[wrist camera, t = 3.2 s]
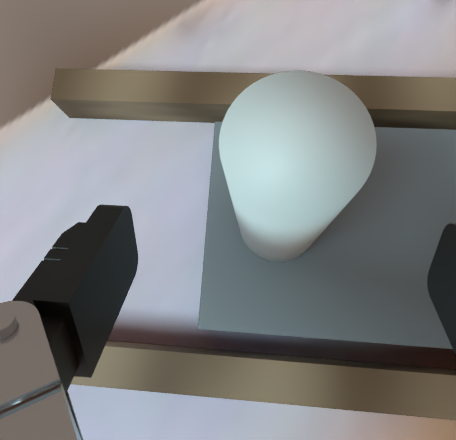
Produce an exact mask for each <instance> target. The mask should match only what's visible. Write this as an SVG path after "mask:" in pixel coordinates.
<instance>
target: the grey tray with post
mask: <svg viewBox="0 0 456 440" xmlns="http://www.w3.org/2000/svg"><path fill="white" fill-rule="evenodd" d="M449 223H454V224H456V130H447V129H417V128H388V127H374V124H373V121H372V119H371V116H370V114H369V112H368V110H367V108H366V107H365V105H364V104H363V103H362V101H361V100H360V99H359V98H358V97H357V95H356V94H355V93H354V92H353V91H351V90H350V89H349V88H348V87H347V86H345V85H344V84H342V83H340V82H339V81H337V80H335V79H333V78H331V77H329V76H326V75H322V74H319V73H315V72H310V71H286V72H280V73H276V74H272V75H269V76H267V77H264V78H262V79H260V80H258V81H256V82H255V83H253V84H252V85H250V86H249V87H247V88H246V89H245V90H244V91H243V92H242V93H241V94H240V95H238V97H237V98H236V99H235V100H234V101H233V103H232V104H231V106H230V107H229V109H228V111H227V112H226V115H225V117H224V119H223V122H215V127H214V140H213V152H212V164H211V176H210V188H209V200H208V212H207V224H206V237H205V249H204V261H203V273H202V285H201V297H200V309H199V322H198V329H204V330H217V331H230V332H242V333H255V334H268V335H280V336H293V337H306V338H318V339H331V340H344V341H356V342H369V343H382V344H394V345H407V346H420V347H432V348H445V349H453V348H452V346H451V344H450V341H449V339H448V337H447V334H446V332H445V330H444V328H443V325H442V323H441V321H440V319H439V316H438V314H437V312H436V309H435V307H434V305H433V303H432V300H431V298H430V296H429V292H428V286H427V278H428V272H429V269H430V266H431V263H432V260H433V257H434V254H435V252H436V249H437V246H438V243H439V240H440V237H441V235H442V232H443V229H444V228H445V226H446V225H447V224H449Z"/></svg>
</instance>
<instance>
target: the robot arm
mask: <svg viewBox="0 0 456 440" xmlns="http://www.w3.org/2000/svg"><path fill="white" fill-rule="evenodd" d="M137 265H138V251H137V245H136V239H135V232H134V226H133V220H132V214H131V210H130V208H129V207H128V206H116V205H99V206H97V208H96V209H95V210H94V212H93V213H92V215H91V216H90V218H89V219H88V221H87V222H86V223H82V222H78V223H77V224H75V225H74V226H72V227H71V228H69V229H68V230H67V231H65V232H64V233H62V234H61V236H60V237H59V238H58V240H57V241H56V243H55V244H54V245H53V247H52V249H50V251H49V252H48V253H47V255H46V256H45V257H44V261H41V263H40V264H39V265H38V267H37V268H36V269H35V271H34V272H33V273H32V275H31V276H30V277H29V279H28V280H27V281H26V283H25V284H24V285H23V287H22V288H21V289H20V291H19V292H18V293H17V295H16V296H15V298H14V299H13V300H12V301H8V302H3V303H0V440H83V437H82V434H81V431H80V428H79V425H78V422H77V418H76V415H75V412H74V409H73V406H72V403H71V400H70V397H69V394H68V391H67V390H68V388H69V386H70V384H71V382H72V379H73V377H74V376H76V377H88V378H91V377H92V375H93V373H94V370H95V368H96V366H97V363H98V361H99V359H100V356H101V354H102V352H103V349H104V347H105V345H106V342H107V340H108V338H109V335H110V333H111V331H112V328H113V326H114V324H115V321H116V319H117V317H118V314H119V312H120V310H121V307H122V305H123V303H124V300H125V298H126V296H127V293H128V291H129V289H130V286H131V284H132V282H133V279H134V277H135V274H136V271H137ZM427 286H428V292H429V296H430V298H431V300H432V303H433V305H434V307H435V309H436V312H437V314H438V316H439V319H440V321H441V323H442V325H443V328H444V330H445V332H446V334H447V337H448V339H449V341H450V344H451V346H452V348H453V350H454V353H455V355H456V224H454V223H449V224H447V225H446V226H445V228H444V229H443V232H442V235H441V237H440V240H439V243H438V246H437V249H436V252H435V254H434V257H433V260H432V263H431V266H430V269H429V272H428V278H427Z"/></svg>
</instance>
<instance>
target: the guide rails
mask: <svg viewBox="0 0 456 440" xmlns="http://www.w3.org/2000/svg"><path fill="white" fill-rule="evenodd" d="M269 75H272V74H265V73H222V72H179V71H136V70H92V69H56V70H55V76H54V82H53V88H52V94H51V100H52V101H53V102H54V103H55V104H56V105H57V106H58V107H59V108H60V109H61V110H62V111H63V112H64V113H65V114H66V115H67V116H68V117H69V118H93V119H122V120H152V121H181V122H210V123H215V122H223V119H224V117H225V115H226V112H227V111H228V109H229V107H230V106H231V104H232V103H233V101H234V100H235V99H236V98H237V97H238V95H240V94H241V93H242V92H243V91H244V90H245V89H246V88H247V87H249V86H250V85H252V84H253V83H255V82H256V81H258V80H260V79H262V78H264V77H267V76H269ZM326 76H329V77H331V78H333V79H335V80H337V81H339V82H340V83H342V84H344V85H345V86H347V87H348V88H349V89H350V90H351V91H353V92H354V93H355V94H356V95H357V97H358V98H359V99H360V100H361V101H362V103H363V104H364V105H365V107H366V108H367V110H368V112H369V114H370V116H371V119H372V121H373V124H374V127H388V128H417V129H447V130H456V78H438V77H395V76H352V75H326ZM71 384H75V385H86V386H97V387H108V388H118V389H129V390H140V391H150V392H161V393H172V394H183V395H193V396H204V397H215V398H225V399H236V400H247V401H257V402H268V403H279V404H290V405H300V406H311V407H322V408H332V409H343V410H354V411H364V412H375V413H386V414H397V415H407V416H418V417H429V418H439V419H450V420H456V369H444V368H432V367H420V366H408V365H396V364H384V363H372V362H360V361H348V360H336V359H324V358H312V357H300V356H288V355H276V354H264V353H252V352H240V351H228V350H216V349H203V348H191V347H179V346H167V345H155V344H143V343H131V342H119V341H107V342H106V345H105V347H104V349H103V352H102V354H101V356H100V359H99V361H98V363H97V366H96V368H95V370H94V373H93V375H92V377H91V378H88V377H76V376H74V377H73V379H72V382H71Z"/></svg>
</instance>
